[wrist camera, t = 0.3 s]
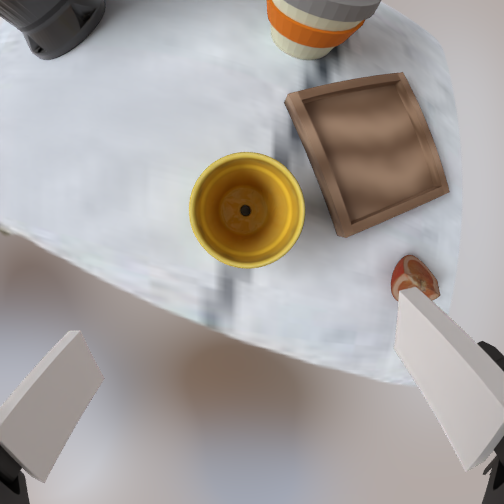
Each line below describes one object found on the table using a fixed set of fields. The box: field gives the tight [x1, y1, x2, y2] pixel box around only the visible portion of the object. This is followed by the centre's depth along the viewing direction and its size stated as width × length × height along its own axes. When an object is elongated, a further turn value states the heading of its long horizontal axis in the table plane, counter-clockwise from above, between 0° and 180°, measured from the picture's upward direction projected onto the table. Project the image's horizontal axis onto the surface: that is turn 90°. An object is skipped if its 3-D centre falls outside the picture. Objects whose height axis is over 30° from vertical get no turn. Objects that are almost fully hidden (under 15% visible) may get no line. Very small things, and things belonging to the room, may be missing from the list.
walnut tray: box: [284, 72, 449, 238], centre depth 32 cm, size 18×18×3 cm
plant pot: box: [189, 152, 305, 268], centre depth 29 cm, size 10×10×10 cm
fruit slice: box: [391, 255, 440, 301], centre depth 34 cm, size 8×7×5 cm
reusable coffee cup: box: [267, 0, 381, 60], centre depth 23 cm, size 13×13×15 cm
